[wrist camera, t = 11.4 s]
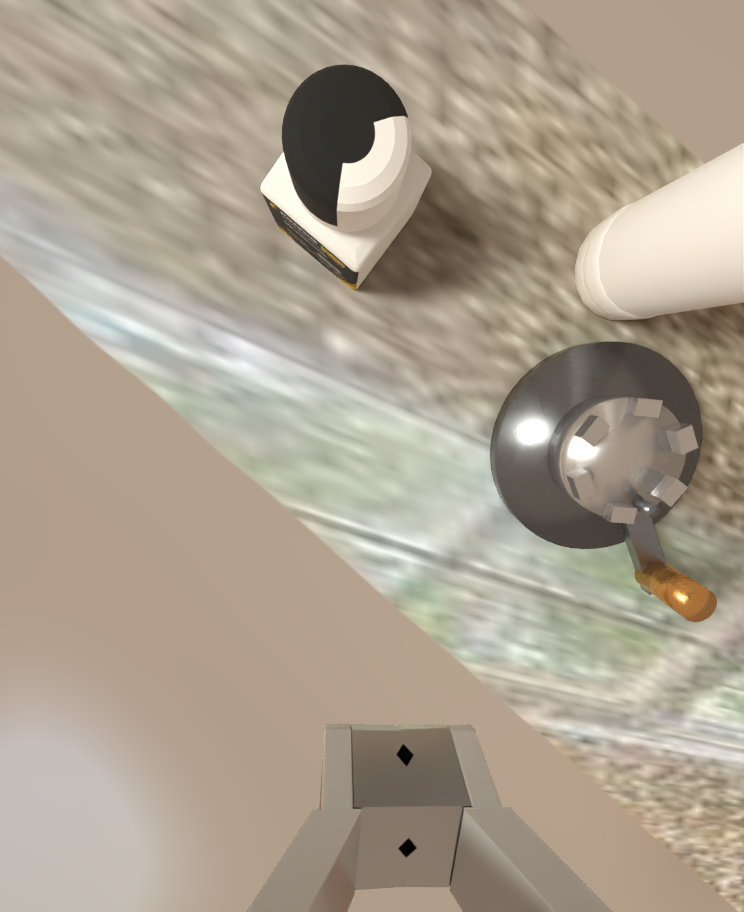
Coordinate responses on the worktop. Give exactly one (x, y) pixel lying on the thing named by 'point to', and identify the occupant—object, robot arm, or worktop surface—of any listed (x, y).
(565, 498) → the flange
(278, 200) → the medicine bottle
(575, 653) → the worktop surface
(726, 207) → the bottle
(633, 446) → the crank handle dial
